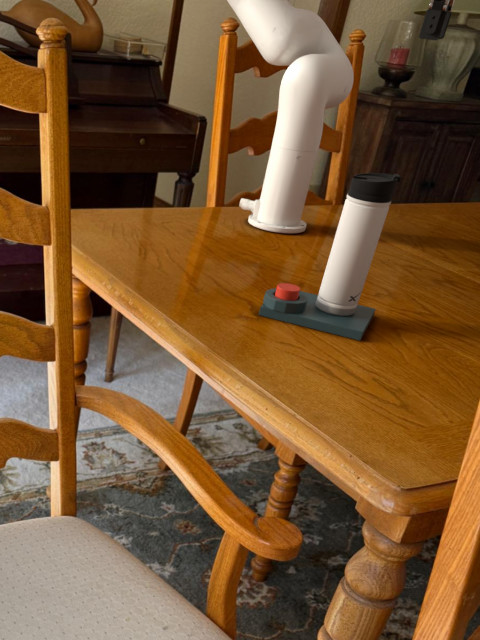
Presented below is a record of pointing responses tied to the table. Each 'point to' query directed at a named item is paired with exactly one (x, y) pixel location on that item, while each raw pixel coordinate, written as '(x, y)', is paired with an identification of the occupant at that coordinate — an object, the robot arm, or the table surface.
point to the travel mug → (355, 242)
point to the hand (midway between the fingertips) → (431, 38)
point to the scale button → (287, 291)
